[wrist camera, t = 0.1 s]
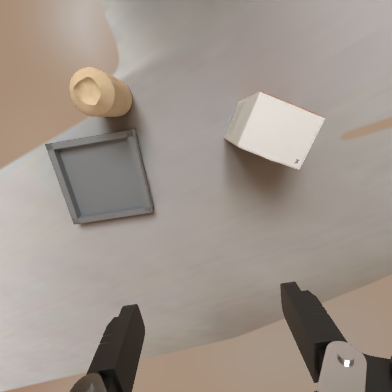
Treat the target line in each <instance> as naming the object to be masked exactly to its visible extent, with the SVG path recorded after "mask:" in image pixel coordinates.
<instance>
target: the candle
mask: <svg viewBox="0 0 392 392" xmlns="http://www.w3.org/2000/svg"><path fill="white" fill-rule="evenodd" d="M69 91H70V96H71V99H72V101H73V103H74V105H75V106H76V107H77V108H78V109H79V110H80V111H81V112H83V113H84V114H86V115H89V116H96V117H119V116H122V115H124V114H126V113H127V112H128V111H129V109H130V107H131V105H132V95H131V92H130V90H129V88H128V87H127V85H126V84H125V83H123V82H122V81H120V80H119V79H117V78H115V77H113V76H111V75H109V74H107V73H105V72H103V71H101V70H99V69H96V68H92V67H86V68H82V69H80V70H78V71H77V72H76V73H75V74H74V75H73V77H72V79H71V81H70V86H69Z"/></svg>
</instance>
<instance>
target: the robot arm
mask: <svg viewBox="0 0 392 392" xmlns="http://www.w3.org/2000/svg"><path fill="white" fill-rule="evenodd" d="M280 287H281V301H282V309H283V313H284V316H285V319H286V321H287V323H288V326H289V328H290V330H291V332H292V334H293V337H294V339H295V341H296V343H297V345H298V348H299V350H300V352H301V354H302V357H303V359H304V361H305V363H306V366H307V368H308V370H309V372H310V375H311V376H312V379H313V381H314V383H317V382H318V386H317V390H316V392H392V357H391V359H385V358H380V357H374V356H369V355H366V354H363V353H362V352H361V351H360V350H359V349H358V348H356V347H355V346H353V345H352V344H349V343H348V342H347V341H346V340H345V338H344V337H343V335H342V334H341V332H340V331H339V329H338V328H337V326H336V325H335V323H334V322H333V320H332V319H331V318H330V316H329V315H328V314H327V312H326V310H325V309H324V307H322V304H321V303H320V301H319V300H318V298H317V297H316V296H315V295H313V294H312V293H311V292H309V291H308V290H306V291H301V290H300V289H299V287H298V285H297V284H296V282H289V283H282V284H281V285H280ZM144 336H145V326H144V323H143V319H142V316H141V313H140V310H139V307H138V305H137V304H134V305H127V306H123V307H122V309H121V312H120V314H119V317H114V318H113V319H112V321H111V322H110V323H109V324H108V325H107V327H106V330H105V332H104V334H103V337H102V339H101V341H100V345H99V346H98V349H97V351H96V353H95V356H94V358H93V360H92V363H91V365H90V367H89V370H88V372H87V374H86V375H85V376H83V377H82V378H81V379H79V380H78V381H77V382H76V383H75V384H74V386H73V387H72V389H71V390H70V392H132V388H133V384H134V380H135V375H136V371H137V367H138V362H139V358H140V354H141V350H142V345H143V341H144Z"/></svg>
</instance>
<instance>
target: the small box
mask: <svg viewBox="0 0 392 392" xmlns="http://www.w3.org/2000/svg"><path fill="white" fill-rule="evenodd" d="M324 120H325V117H322V116H320V115H318V114H315V113H313V112H310V111H308V110H305V109H303V108H300V107H298V106H296V105H293V104H291V103H288V102H286V101H283V100H281V99H278V98H276V97H273V96H271V95H268V94H266V93H263V92H258V93H256V94H254V95H252V96H249V97H247V98H245V99H243V100H240V101H239V102H238V104H237V107H236V110H235V112H234V115H233V117H232V120H231V122H230V125H229V127H228V130H227V132H226V135H225V138H224V139H226V140H227V141H229V142H230V143H232V144H234V145H235V146H237V147H238V148H241V149H243V150H246V151H248V152H251V153H253V154H256V155H258V156H261V157H263V158H266V159H268V160H271V161H274V162H277V163H280V164H283V165H286V166H288V167H291V168H294V169H297V170H300V168H301V166H302V164H303V162H304V160H305V158H306V156H307V154H308V152H309V150H310V148H311V146H312V144H313V142H314V140H315V138H316V136H317V134H318V132H319V130H320V128H321V126H322V124H323V122H324Z"/></svg>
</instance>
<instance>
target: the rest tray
mask: <svg viewBox="0 0 392 392" xmlns="http://www.w3.org/2000/svg"><path fill="white" fill-rule="evenodd" d="M45 145H46V148H47V151H48V154H49V156H50V159H51V162H52V165H53V167H54V170H55V173H56V176H57V179H58V181H59V184H60V187H61V190H62V193H63V195H64V198H65V201H66V204H67V206H68V209H69V212H70V215H71V218H72V220H73V223H74V224H80V223H86V222H93V221H99V220H106V219H112V218H119V217H126V216H132V215H139V214H145V213H152V211H153V209H154V207H153V203H152V199H151V194H150V190H149V186H148V182H147V177H146V173H145V169H144V165H143V160H142V156H141V152H140V148H139V143H138V139H137V135H136V131H135V129H132V130H126V131H120V132H114V133H109V134H103V135H97V136H91V137H85V138H79V139H73V140H68V141H62V142H56V143H50V144H45Z"/></svg>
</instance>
